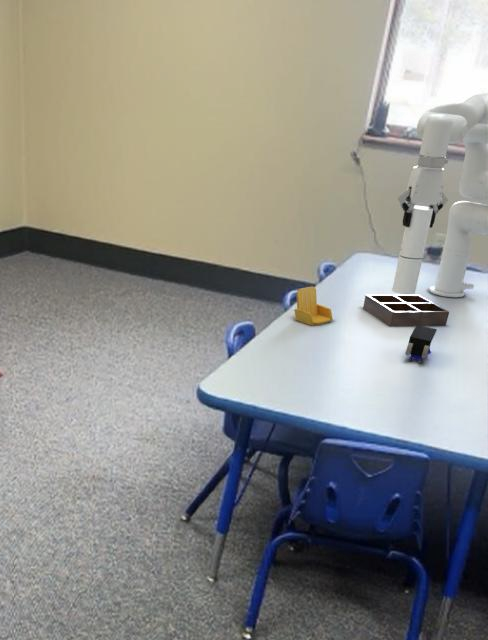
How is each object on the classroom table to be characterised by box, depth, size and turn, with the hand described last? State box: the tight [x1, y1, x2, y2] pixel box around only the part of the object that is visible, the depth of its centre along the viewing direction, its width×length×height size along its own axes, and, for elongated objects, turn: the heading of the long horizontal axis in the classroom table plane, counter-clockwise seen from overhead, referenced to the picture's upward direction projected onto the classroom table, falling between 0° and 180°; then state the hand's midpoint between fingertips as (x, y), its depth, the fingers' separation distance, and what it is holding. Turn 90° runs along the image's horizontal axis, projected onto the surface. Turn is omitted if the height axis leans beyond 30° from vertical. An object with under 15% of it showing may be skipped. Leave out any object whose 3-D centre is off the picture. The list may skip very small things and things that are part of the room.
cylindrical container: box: [391, 205, 433, 295], centre depth 250 cm, size 7×7×25 cm
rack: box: [362, 294, 450, 327], centre depth 266 cm, size 20×20×5 cm
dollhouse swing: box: [294, 286, 334, 327], centre depth 254 cm, size 10×10×9 cm
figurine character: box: [405, 325, 438, 364], centre depth 230 cm, size 7×8×15 cm
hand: (417, 226), depth 246 cm, fingers closed on cylindrical container, 7 cm apart
